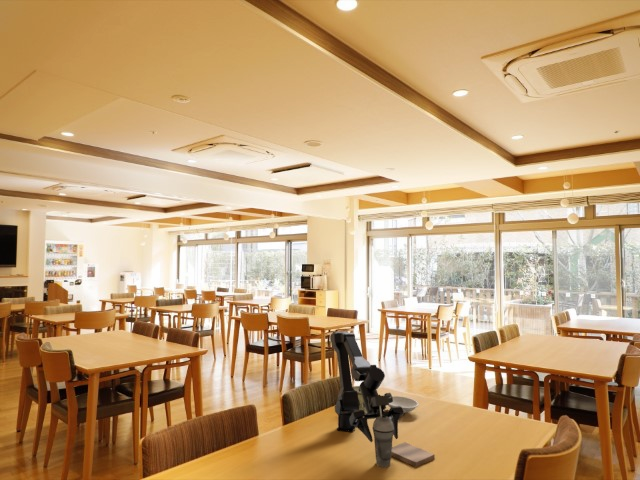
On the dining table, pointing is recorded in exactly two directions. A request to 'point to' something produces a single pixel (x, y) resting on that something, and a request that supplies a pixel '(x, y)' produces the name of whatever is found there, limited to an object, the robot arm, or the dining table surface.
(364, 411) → the ceramic cup
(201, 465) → the dining table surface
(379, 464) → the beverage cup
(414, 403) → the dish
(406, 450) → the walnut board
